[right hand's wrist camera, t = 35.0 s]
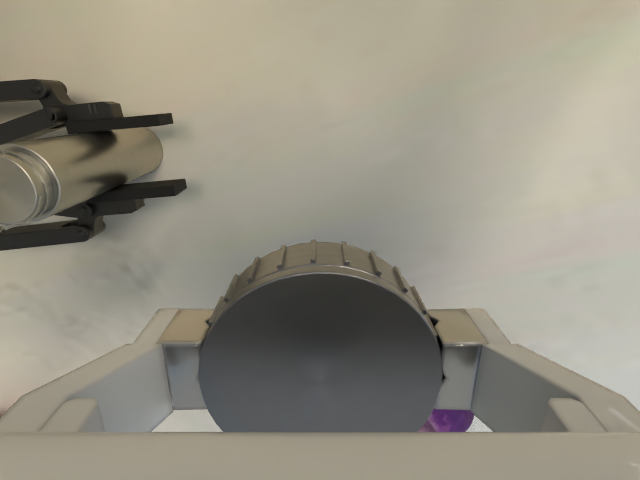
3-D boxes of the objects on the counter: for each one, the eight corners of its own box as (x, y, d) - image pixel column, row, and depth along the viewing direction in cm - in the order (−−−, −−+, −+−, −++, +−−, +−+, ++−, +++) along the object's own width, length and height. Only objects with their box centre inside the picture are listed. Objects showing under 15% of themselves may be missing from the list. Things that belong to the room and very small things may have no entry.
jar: (112, 165, 36) (-46, 217, 20) (118, 119, 35) (-47, 136, 19) (159, 178, 36) (40, 239, 21) (166, 133, 35) (45, 161, 19)
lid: (443, 246, 9) (469, 278, 8) (408, 424, 11) (423, 479, 9) (212, 230, 9) (189, 260, 7) (216, 413, 11) (199, 468, 9)
